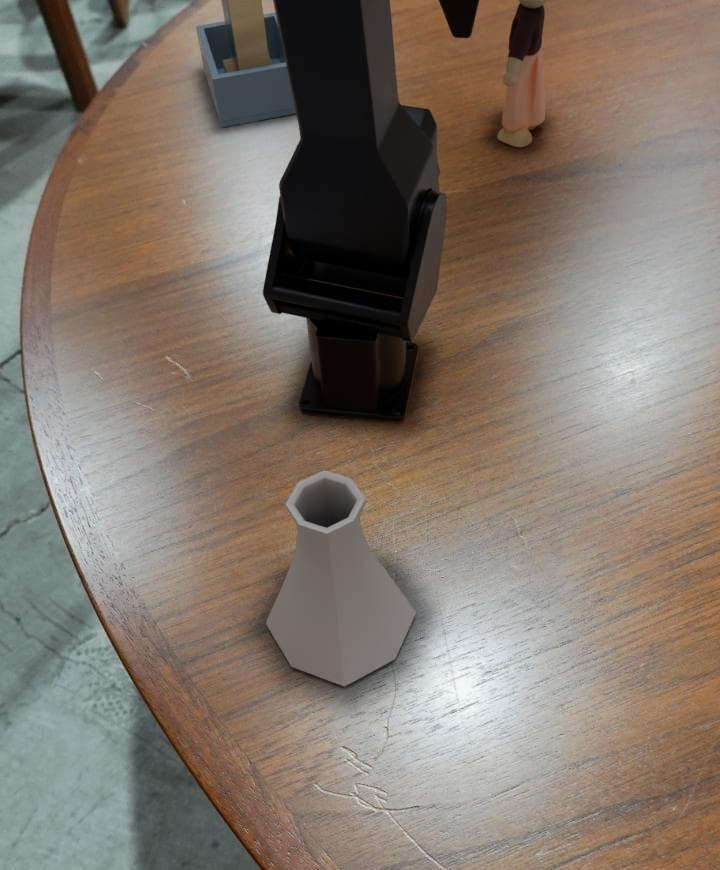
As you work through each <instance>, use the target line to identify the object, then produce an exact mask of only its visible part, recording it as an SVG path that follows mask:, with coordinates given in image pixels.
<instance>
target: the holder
mask: <svg viewBox="0 0 720 870" xmlns="http://www.w3.org/2000/svg"><path fill="white" fill-rule="evenodd" d="M263 16H264V23H265V31H266V39H267V46H268V53H269V56H270V58H271V61H272V63H273V65H269V66H263V67H257V68H252V69H246V70H241V71H235V72H230V73H225V72H224V67H223V60H226V59H231V55H230V49H229V43H228V37H227V31H226V25H225V20H224V21H217V22H211V23H206V24H201V25H196V26H195V29H196V33H197V34H196V35H197V40H198V46H199V51H200V55H201V61H202V65H203V71H204V76H205V79H206V82H207V85H208V89H209V92H210V96H211V99H212V101H213V105H214V108H215V112H216V115H217V118H218V122H219V125H220V127H221V128H227V127H231V126H237V125H243V124H248V123H253V122H254V123H255V122H259V121H265V120H269V119H270V120H271V119H275V118H281V117H285V116H292V115H296V110H295V105H294V100H293V95H292V90H291V85H290V80H289V76H288V71H287V66H286V61H285V56H284V51H283V46H282V41H281V37H280V32H279V27H278V22H277V17H276V12H275V11H274V12H269V13H263Z"/></svg>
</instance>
